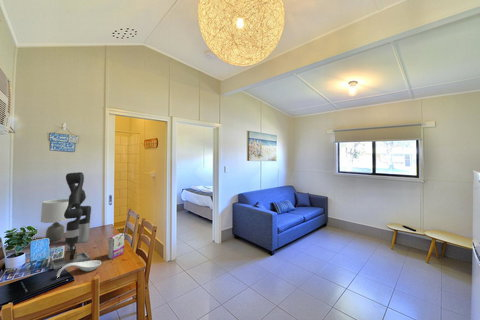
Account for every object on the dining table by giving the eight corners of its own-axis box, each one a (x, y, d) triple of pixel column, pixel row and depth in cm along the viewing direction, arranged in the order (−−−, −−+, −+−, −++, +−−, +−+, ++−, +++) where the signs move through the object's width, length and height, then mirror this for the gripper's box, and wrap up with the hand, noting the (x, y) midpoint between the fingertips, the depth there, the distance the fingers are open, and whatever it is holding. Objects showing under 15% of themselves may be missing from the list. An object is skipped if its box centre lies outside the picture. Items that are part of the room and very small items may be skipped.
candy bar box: (119, 252, 162) (120, 232, 163) (124, 253, 161) (125, 233, 162) (107, 258, 151) (108, 237, 152) (112, 259, 150) (114, 238, 151)
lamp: (73, 234, 197) (75, 198, 198) (62, 242, 178) (65, 202, 179) (47, 236, 190) (49, 199, 191) (33, 244, 170) (36, 203, 172)
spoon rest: (99, 263, 145) (99, 253, 145) (102, 269, 136) (103, 259, 137) (55, 275, 128) (56, 264, 128) (56, 283, 119) (57, 271, 120)
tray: (50, 263, 140) (50, 260, 141) (84, 254, 156) (84, 251, 156) (53, 271, 132) (54, 267, 132) (89, 260, 147) (89, 257, 148)
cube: (64, 259, 144) (64, 251, 144) (74, 256, 148) (75, 248, 148) (66, 261, 140) (66, 253, 140) (76, 259, 144) (77, 250, 145)
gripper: (63, 234, 146) (61, 256, 146) (67, 239, 137) (66, 263, 137) (76, 231, 152) (74, 253, 151) (81, 236, 143) (79, 259, 142)
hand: (70, 257), depth 144 cm, fingers closed on cube, 6 cm apart
